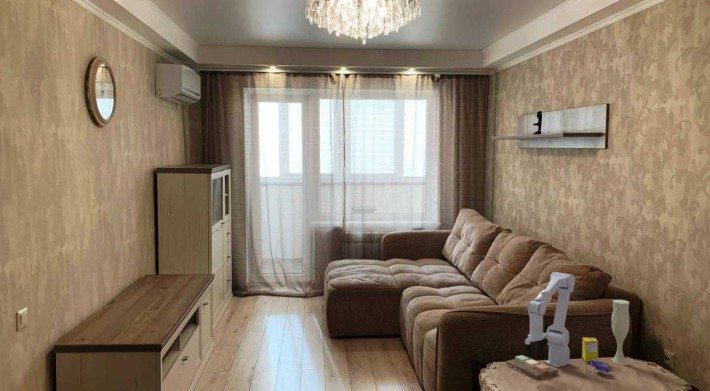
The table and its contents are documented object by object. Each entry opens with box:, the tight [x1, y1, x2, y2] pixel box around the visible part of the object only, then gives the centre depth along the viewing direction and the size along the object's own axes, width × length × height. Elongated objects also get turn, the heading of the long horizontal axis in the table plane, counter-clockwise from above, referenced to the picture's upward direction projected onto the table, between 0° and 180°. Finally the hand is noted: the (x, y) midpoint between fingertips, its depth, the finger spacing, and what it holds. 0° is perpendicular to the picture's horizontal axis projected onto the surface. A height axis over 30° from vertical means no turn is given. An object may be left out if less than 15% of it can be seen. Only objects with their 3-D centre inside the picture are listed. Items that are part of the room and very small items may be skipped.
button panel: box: [505, 356, 559, 381], centre depth 267 cm, size 13×20×2 cm, turn 27°
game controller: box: [585, 355, 610, 377], centre depth 262 cm, size 10×8×10 cm
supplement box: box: [581, 336, 599, 363], centre depth 277 cm, size 6×6×11 cm
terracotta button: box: [535, 363, 549, 373], centre depth 261 cm, size 4×4×2 cm
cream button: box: [525, 359, 540, 368], centre depth 267 cm, size 4×4×2 cm
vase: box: [611, 299, 630, 363], centre depth 274 cm, size 9×8×30 cm
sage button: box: [514, 354, 529, 364], centre depth 272 cm, size 4×4×2 cm
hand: (535, 356), depth 261 cm, fingers open, 7 cm apart
